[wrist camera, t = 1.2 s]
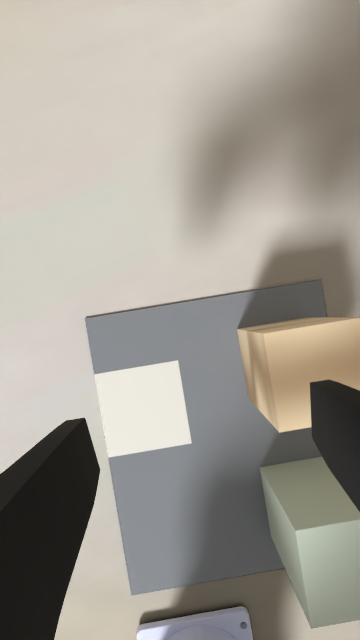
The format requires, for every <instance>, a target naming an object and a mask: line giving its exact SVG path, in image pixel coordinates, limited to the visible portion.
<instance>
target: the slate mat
mask: <svg viewBox="0 0 360 640" xmlns="http://www.w3.org/2000/svg"><path fill="white" fill-rule="evenodd" d="M301 318H327V315H326V309H325V303H324V296H323V290H322V284H321V280H316V281H310V282H304V283H298V284H291V285H285V286H279V287H273V288H267V289H261V290H255V291H249V292H243V293H237V294H231V295H225V296H219V297H212V298H206V299H200V300H194V301H188V302H182V303H176V304H170V305H164V306H158V307H152V308H146V309H139V310H133V311H127V312H121V313H115V314H109V315H103V316H97V317H91V318H85V321H86V327H87V333H88V339H89V345H90V351H91V357H92V363H93V369H94V376H95V382H96V387H97V393H98V399H99V405H100V411H101V417H102V423H103V429H104V435H105V441H106V447H107V453H108V458H109V464H110V470H111V476H112V482H113V488H114V494H115V500H116V506H117V512H118V518H119V524H120V530H121V536H122V542H123V548H124V554H125V559H126V565H127V571H128V577H129V583H130V589H131V595H137V594H142V593H148V592H154V591H159V590H165V589H170V588H176V587H182V586H187V585H193V584H199V583H204V582H210V581H215V580H221V579H227V578H232V577H238V576H244V575H249V574H255V573H260V572H266V571H272V570H277V569H283V568H285V567H284V565H283V563H282V560H281V558H280V556H279V553H278V551H277V549H276V547H275V544H274V542H273V540H272V537H271V534H270V528H269V521H268V515H267V509H266V503H265V497H264V491H263V485H262V479H261V472H260V467H264V466H270V465H276V464H282V463H287V462H293V461H299V460H305V459H311V458H316V457H322V455H321V454H320V452H319V450H318V448H317V446H316V444H315V442H314V440H313V438H312V427H309V428H303V429H297V430H292V431H286V432H280V433H279V432H278V431H277V429H276V428H275V427H274V426H273V425H272V424H271V423H270V422H269V421H268V419H267V418H266V417H265V416H264V415H263V414H262V413H261V412H260V411H259V410H258V408H257V407H256V406H255V405H254V404H253V403H252V402H251V401H250V400H249V398H248V393H247V387H246V381H245V375H244V368H243V362H242V356H241V350H240V344H239V338H238V332H237V329H241V328H247V327H253V326H259V325H265V324H271V323H277V322H283V321H289V320H295V319H301Z"/></svg>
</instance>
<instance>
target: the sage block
mask: <svg viewBox="0 0 360 640" xmlns="http://www.w3.org/2000/svg"><path fill="white" fill-rule="evenodd" d="M260 472H261V479H262V485H263V491H264V497H265V503H266V509H267V515H268V521H269V528H270V534H271V537H272V540H273V542H274V544H275V547H276V549H277V551H278V553H279V556H280V558H281V560H282V563H283V565H284V567H285V570H286V572H287V574H288V576H289V579H290V581H291V583H292V586H293V588H294V590H295V592H296V595H297V597H298V599H299V602H300V604H301V606H302V609H303V611H304V613H305V615H306V618H307V620H308V622H309V625H310V627H311V629H312V628H317V627H323V626H328V625H334V624H339V623H345V622H350V621H356V620H360V512H359V511H358V509H357V508H356V506H355V505H354V504H353V502H352V501H351V499H350V498H349V497H348V495H347V494H346V492H345V491H344V489H343V488H342V487H341V485H340V484H339V482H338V481H337V479H336V478H335V477H334V475H333V474H332V472H331V471H330V469H329V468H328V466H327V464H326V463H325V461H324V459H323V457H316V458H311V459H305V460H299V461H293V462H287V463H282V464H276V465H270V466H264V467H260Z"/></svg>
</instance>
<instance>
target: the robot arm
mask: <svg viewBox="0 0 360 640" xmlns="http://www.w3.org/2000/svg"><path fill="white" fill-rule="evenodd" d="M310 401H311V426H312V438H313V440H314V442H315V444H316V446H317V448H318V450H319V452H320V454H321V455H322V457H323V459H324V461H325V463H326V464H327V466H328V468H329V469H330V471H331V472H332V474H333V475H334V477H335V478H336V479H337V481H338V482H339V484H340V485H341V487H342V488H343V489H344V491H345V492H346V494H347V495H348V497H349V498H350V499H351V501H352V502H353V504H354V505H355V506H356V508H357V509H358V511H359V512H360V391H359V390H357V389H354V388H352V387H349V386H347V385H344V384H341V383H339V382H336V381H333V380H322V381H316V382H310ZM99 474H100V468H99V464H98V461H97V457H96V454H95V451H94V447H93V444H92V440H91V437H90V433H89V430H88V426H87V423H86V420H85V418H80V419H74V420H67V421H65V422H64V423H62V424H61V425H60V426H58V427H57V428H56V429H54V430H53V431H52V432H51V433H49V434H48V435H47V436H46V437H45V438H43V439H42V440H41V441H40V442H39V443H37V444H36V445H35V446H34V447H33V448H32V449H30V450H29V451H28V452H27V453H26V454H24V455H23V456H22V457H21V458H20V459H18V460H17V461H16V462H15V463H14V464H12V465H11V466H10V467H9V468H8V469H6V470H5V471H4V472H3V473H1V474H0V640H54V637H55V633H56V629H57V624H58V620H59V616H60V613H61V609H62V605H63V602H64V598H65V595H66V591H67V588H68V585H69V582H70V579H71V576H72V572H73V569H74V566H75V563H76V560H77V557H78V553H79V550H80V547H81V544H82V541H83V538H84V534H85V531H86V528H87V525H88V521H89V518H90V515H91V512H92V508H93V505H94V501H95V496H96V491H97V485H98V479H99ZM241 622H244V623H241ZM136 637H137V640H253V636H252V630H251V624H250V618H249V614H248V610H247V609H246V608H245V607H243V606H240V607H234V608H229V609H223V610H217V611H212V612H206V613H201V614H195V615H190V616H184V617H178V618H173V619H167V620H162V621H156V622H150V623H145V624H141V625H140V626H139V627H138V628H137V634H136Z"/></svg>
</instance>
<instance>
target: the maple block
mask: <svg viewBox="0 0 360 640" xmlns="http://www.w3.org/2000/svg"><path fill="white" fill-rule="evenodd" d="M237 332H238V338H239V344H240V350H241V356H242V362H243V368H244V375H245V381H246V387H247V393H248V398H249V400H250V401H251V402H252V403H253V404H254V405H255V406H256V407H257V408H258V410H259V411H260V412H261V413H262V414H263V415H264V416H265V417H266V418H267V419H268V421H269V422H270V423H271V424H272V425H273V426H274V427H275V428H276V429H277V431H278V432H279V433H280V432H286V431H292V430H297V429H303V428H309V427H312V426H311V401H310V382H316V381H322V380H333V381H336V382H339V383H341V384H344V385H347V386H349V387H352V388H354V389H357V390H359V391H360V317H332V318H301V319H295V320H289V321H283V322H277V323H271V324H265V325H259V326H253V327H247V328H241V329H237Z"/></svg>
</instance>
